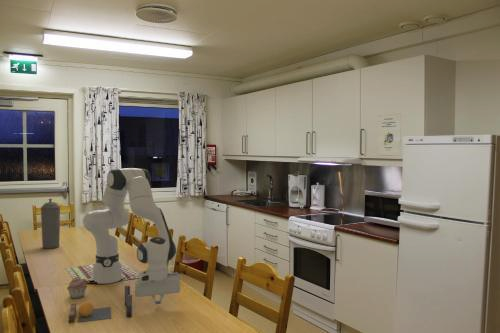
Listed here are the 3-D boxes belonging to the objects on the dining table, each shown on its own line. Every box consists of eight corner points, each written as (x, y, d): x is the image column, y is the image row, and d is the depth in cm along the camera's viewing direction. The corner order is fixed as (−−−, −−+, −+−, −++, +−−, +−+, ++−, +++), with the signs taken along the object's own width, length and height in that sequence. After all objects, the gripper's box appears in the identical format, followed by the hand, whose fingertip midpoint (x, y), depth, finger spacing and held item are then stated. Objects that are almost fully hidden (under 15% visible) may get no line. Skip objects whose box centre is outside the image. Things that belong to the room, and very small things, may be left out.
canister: (57, 244, 311) (57, 197, 309) (62, 247, 301) (62, 199, 300) (39, 246, 303) (38, 198, 301) (43, 250, 293) (43, 200, 292)
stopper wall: (71, 310, 187) (71, 303, 187) (76, 309, 188) (76, 303, 187) (68, 323, 174) (68, 315, 174) (74, 322, 174) (73, 315, 174)
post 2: (126, 315, 182) (125, 295, 181) (131, 314, 183) (131, 294, 182) (126, 317, 180) (126, 297, 179) (132, 316, 180) (132, 296, 180)
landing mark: (79, 310, 187) (79, 310, 187) (110, 307, 191) (110, 306, 191) (77, 322, 174) (77, 321, 174) (110, 318, 179) (110, 318, 179)
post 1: (124, 304, 194) (124, 285, 194) (130, 304, 195) (130, 285, 194) (124, 306, 192) (124, 287, 191) (130, 306, 193) (130, 286, 192)
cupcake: (91, 296, 205) (91, 276, 204) (72, 301, 198) (72, 280, 197) (82, 291, 211) (81, 272, 210) (63, 296, 204) (63, 276, 203)
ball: (81, 298, 183) (95, 302, 185) (76, 312, 182) (89, 316, 184) (81, 302, 177) (95, 306, 179) (75, 316, 176) (90, 320, 178)
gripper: (179, 270, 197) (179, 298, 198) (134, 273, 190) (134, 303, 191) (181, 273, 191) (181, 303, 192) (135, 278, 184) (135, 308, 185)
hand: (157, 303), depth 191 cm, fingers closed
